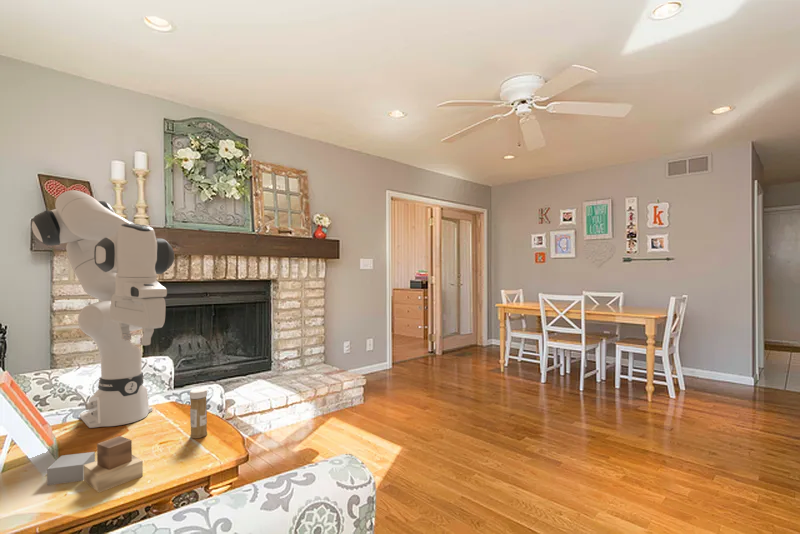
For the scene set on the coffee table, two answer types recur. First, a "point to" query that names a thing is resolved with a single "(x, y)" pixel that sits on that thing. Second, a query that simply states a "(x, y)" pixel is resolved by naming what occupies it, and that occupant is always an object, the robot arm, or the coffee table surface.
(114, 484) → the oak block
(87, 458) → the grey block
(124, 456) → the walnut cube
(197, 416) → the sprinkles bottle
